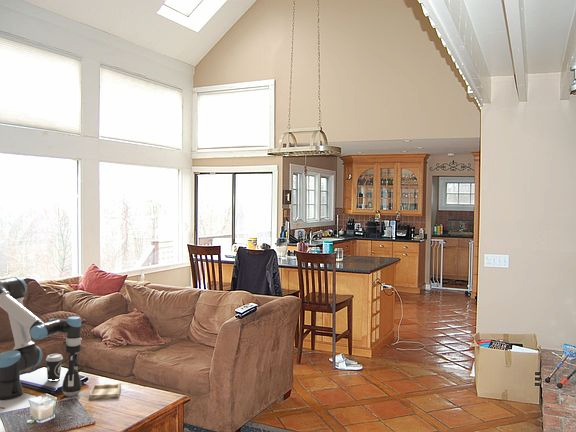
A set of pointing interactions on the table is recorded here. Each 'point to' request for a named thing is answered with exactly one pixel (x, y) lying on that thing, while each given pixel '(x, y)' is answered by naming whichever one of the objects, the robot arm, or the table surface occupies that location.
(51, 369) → the coffee cup
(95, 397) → the beige flat square tray
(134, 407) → the table surface
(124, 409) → the table surface
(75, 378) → the pump dispenser
